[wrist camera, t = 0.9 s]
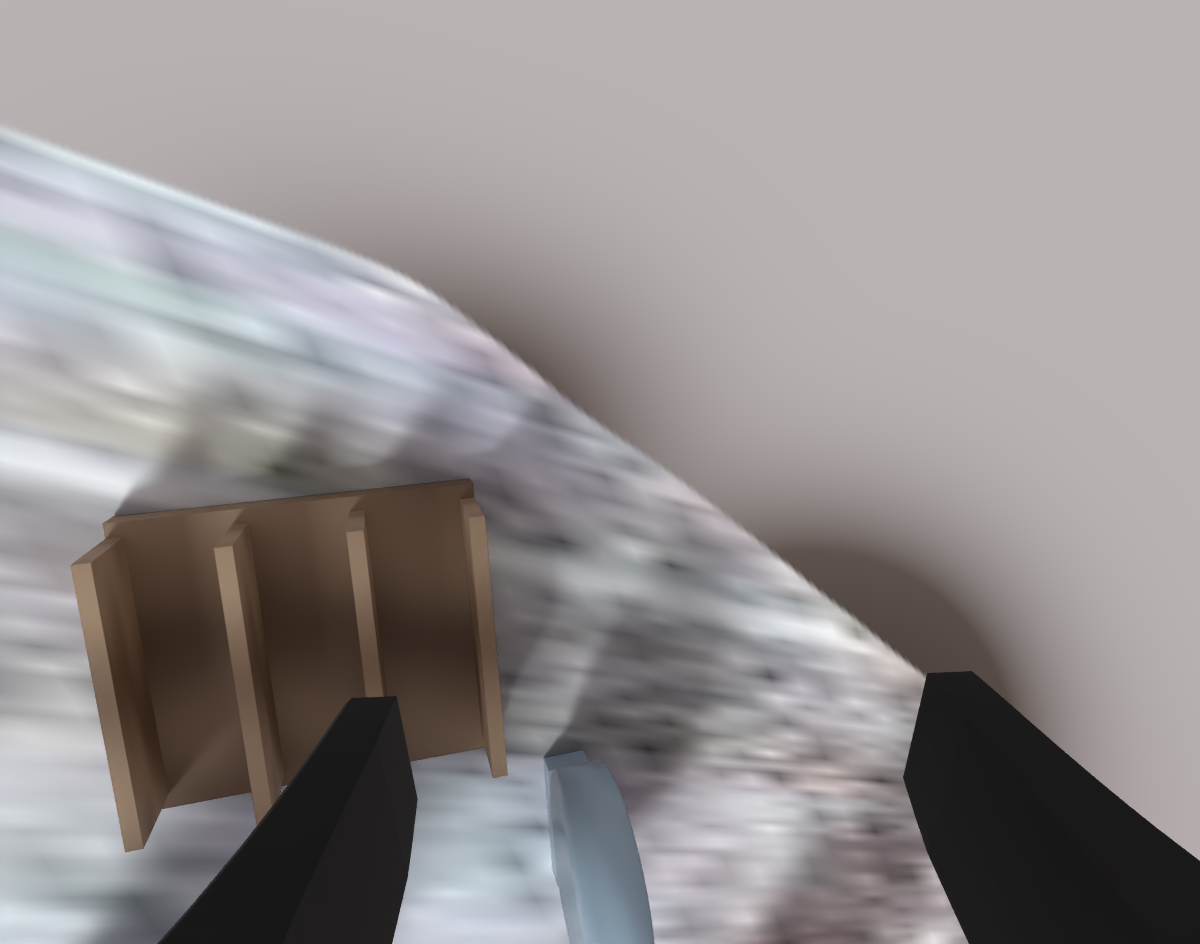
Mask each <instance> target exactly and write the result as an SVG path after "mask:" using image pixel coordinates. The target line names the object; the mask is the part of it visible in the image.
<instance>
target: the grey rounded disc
mask: <svg viewBox="0 0 1200 944" xmlns="http://www.w3.org/2000/svg"><path fill="white" fill-rule="evenodd" d="M544 768H545V780H546V793H547V806H548V819H549V831H550V844H551V857H552V869H553V873H554V876H555V879H556V882H557V885H558V886H559V890H560V896H561V901H562V907H563V912H564V917H565V922H566V927H567V932H568V937H569V941H570V944H654V935H653V927H652V920H651V912H650V907H649V901H648V895H647V890H646V885H645V880H644V875H643V870H642V866H641V861H640V857H639V853H638V849H637V845H636V841H635V837H634V834H633V830H632V827H631V823H630V820H629V817H628V814H627V811H626V808H625V805H624V802H623V799H622V796H621V794H620V791H619V789H618V787H617V784H616V782H615V780H614V778H613V776H612V774H611V772H610V771H609V769H608V767H607V766H606V765H605V764H604V763H603V762H602V761H601V760H594V761H589V762H588V759H587V757H586V755H585V753H584V751H583V750H580V751H575V752H570V753H565V754H560V755H555V756H550V757H545V758H544Z"/></svg>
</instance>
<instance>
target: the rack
mask: <svg viewBox="0 0 1200 944" xmlns="http://www.w3.org/2000/svg"><path fill="white" fill-rule="evenodd" d="M103 528H104V534H105V540H103V541H102V542H101V543H99V544H98V545H97V546H95V547H94V548H93V549H91V550H90V551H89V552H87V553H86V554H85V555H83V556H82V557H81V558H79V559H78V560H77V561H75V562H74V563H73V564H71V565H70V566H71V571H72V576H73V581H74V587H75V592H76V597H77V602H78V607H79V613H80V618H81V623H82V628H83V634H84V639H85V644H86V649H87V655H88V660H89V665H90V670H91V676H92V681H93V686H94V691H95V697H96V702H97V707H98V712H99V718H100V723H101V728H102V733H103V739H104V744H105V749H106V754H107V760H108V765H109V770H110V775H111V781H112V786H113V791H114V796H115V802H116V807H117V812H118V817H119V822H120V828H121V833H122V838H123V843H124V849H125V852H129V851H134V850H139V849H144V846H145V844H146V842H147V840H148V838H149V836H150V833H151V831H152V829H153V827H154V825H155V822H156V820H157V818H158V816H159V814H160V812H161V809H165V808H170V807H176V806H181V805H186V804H191V803H196V802H202V801H207V800H212V799H217V798H223V797H228V796H233V795H238V794H243V793H249V792H252V798H253V804H254V811H255V817H256V824H257V825H258V824H259V822H260V821H261V820H262V819H263V817H264V816H265V815H266V813H267V812H268V811H269V809H270V808H271V807H272V805H273V804H274V803H275V802H276V800H277V799H278V798H279V796H280V792H281V787H282V786H285V785H288V784H289V783H290V782H291V780H292V779H293V777H294V776H295V775H296V773H297V772H298V771H299V769H300V768H301V766H302V765H303V764H304V762H305V761H306V760H307V758H308V757H309V755H310V754H311V752H312V751H313V750H314V748H315V747H316V745H317V744H318V743H319V741H320V740H321V738H322V737H323V735H324V734H325V732H326V731H327V730H328V728H329V727H330V725H331V724H332V722H333V721H334V719H335V718H336V716H337V715H338V714H339V712H340V711H341V709H342V708H343V706H344V705H345V704H346V703H347V702H348V701H349V700H350V699H351V698H363V697H386V696H397V700H398V705H399V710H400V715H401V720H402V725H403V730H404V735H405V740H406V745H407V750H408V755H409V760H410V762H411V761H416V760H421V759H426V758H431V757H437V756H442V755H447V754H452V753H458V752H463V751H468V750H473V749H478V748H484V747H485V749H486V753H487V757H488V761H489V765H490V769H491V773H492V776H493V778H496V777H501V776H506V775H508V773H507V762H506V750H505V739H504V728H503V716H502V705H501V694H500V682H499V671H498V660H497V648H496V637H495V626H494V615H493V603H492V592H491V581H490V569H489V558H488V547H487V535H486V524H485V515H484V514H483V512H482V510H481V509H480V507H479V505H478V503H477V502H476V500H475V498H474V492H473V483H472V482H471V480H470V479H461V480H452V481H443V482H433V483H424V484H414V485H405V486H396V487H386V488H377V489H368V490H358V491H349V492H340V493H330V494H321V495H311V496H302V497H293V498H283V499H274V500H265V501H255V502H246V503H237V504H227V505H218V506H209V507H199V508H190V509H180V510H171V511H162V512H152V513H143V514H134V515H124V516H115V517H112V518H110V519H109V520H107V521H106V522H104V523H103Z"/></svg>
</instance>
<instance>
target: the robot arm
mask: <svg viewBox="0 0 1200 944" xmlns="http://www.w3.org/2000/svg"><path fill="white" fill-rule="evenodd" d="M903 778H904V782H905V785H906V788H907V791H908V794H909V798H910V801H911V804H912V807H913V811H914V814H915V817H916V820H917V823H918V826H919V829H920V832H921V835H922V838H923V841H924V844H925V847H926V850H927V852H928V855H929V857H930V859H931V861H932V864H933V866H934V868H935V871H936V873H937V875H938V877H939V879H940V882H941V884H942V886H943V888H944V890H945V893H946V895H947V897H948V899H949V901H950V904H951V906H952V908H953V910H954V912H955V915H956V917H957V919H958V921H959V923H960V925H961V928H962V930H963V932H964V934H965V936H966V938H967V940H968V943H969V944H1200V861H1199V860H1198V859H1197V858H1195V857H1194V856H1193V855H1191V854H1190V853H1189V852H1187V851H1186V850H1185V849H1183V848H1182V847H1181V846H1179V845H1178V844H1177V843H1175V842H1174V841H1173V840H1172V839H1170V838H1169V837H1168V836H1167V835H1165V834H1164V833H1163V832H1161V831H1160V830H1159V829H1157V828H1156V827H1155V826H1154V825H1152V824H1151V823H1150V822H1149V821H1147V820H1146V819H1145V818H1144V817H1142V816H1141V815H1140V814H1139V813H1137V812H1136V811H1135V810H1134V809H1132V808H1131V807H1130V806H1128V805H1127V804H1126V803H1125V802H1124V801H1123V800H1121V799H1120V798H1119V797H1118V796H1116V795H1115V794H1114V793H1113V792H1112V791H1110V790H1109V789H1108V788H1107V787H1105V786H1104V785H1103V784H1102V783H1101V782H1100V781H1098V780H1097V779H1096V778H1095V777H1094V776H1092V775H1091V774H1090V773H1089V772H1088V771H1086V770H1085V769H1084V768H1083V767H1082V766H1081V765H1079V764H1078V763H1077V762H1076V761H1075V760H1074V759H1072V758H1071V757H1070V756H1069V755H1068V754H1066V753H1065V752H1064V751H1063V750H1062V749H1061V748H1059V747H1058V746H1057V745H1056V744H1055V743H1054V742H1053V741H1051V740H1050V739H1049V738H1048V737H1047V736H1046V735H1045V734H1043V733H1042V732H1041V731H1040V730H1039V729H1038V728H1036V727H1035V726H1034V725H1033V724H1032V723H1031V722H1030V721H1029V720H1027V719H1026V718H1025V717H1024V716H1023V715H1022V714H1020V712H1018V711H1017V710H1016V709H1015V708H1014V707H1013V706H1012V705H1010V704H1009V703H1008V702H1007V701H1006V700H1005V699H1004V698H1002V697H1001V696H1000V695H999V694H998V693H997V692H995V691H994V690H993V689H992V688H991V687H990V686H989V685H987V684H986V683H985V682H983V680H981V679H980V678H979V677H978V676H977V675H976V674H974V673H973V672H972V671H967V672H944V673H927V677H926V681H925V685H924V690H923V694H922V698H921V703H920V707H919V711H918V716H917V720H916V724H915V729H914V733H913V737H912V742H911V746H910V750H909V755H908V759H907V763H906V768H905V772H904V776H903ZM416 808H417V795H416V790H415V785H414V780H413V775H412V770H411V765H410V760H409V755H408V750H407V745H406V740H405V735H404V730H403V725H402V720H401V715H400V710H399V705H398V700H397V696H386V697H363V698H351V699H350V700H349V701H348V702H347V703H346V704H345V705H344V706H343V708H342V709H341V711H340V712H339V714H338V715H337V716H336V718H335V719H334V721H333V722H332V724H331V725H330V727H329V728H328V730H327V731H326V732H325V734H324V735H323V737H322V738H321V740H320V741H319V743H318V744H317V745H316V747H315V748H314V750H313V751H312V752H311V754H310V755H309V757H308V758H307V760H306V761H305V762H304V764H303V765H302V766H301V768H300V769H299V771H298V772H297V773H296V775H295V776H294V777H293V779H292V780H291V782H290V783H289V784H288V786H287V787H286V788H285V790H284V791H283V792H282V794H281V795H280V796H279V798H278V799H277V800H276V802H275V803H274V804H273V805H272V807H271V808H270V809H269V811H268V812H267V813H266V815H265V816H264V817H263V819H262V820H261V821H260V822H259V824H258V825H257V826H256V828H255V829H254V830H253V832H252V833H251V834H250V836H249V837H248V838H247V839H246V841H245V842H244V843H243V844H242V846H241V847H240V848H239V849H238V851H237V852H236V853H235V854H234V855H233V857H232V858H231V859H230V860H229V861H228V863H227V864H226V865H225V866H224V867H223V869H222V870H221V871H220V872H219V873H218V875H217V876H216V877H215V878H214V879H213V881H212V882H211V883H210V884H209V885H208V887H207V888H206V889H205V890H204V891H203V893H202V894H201V895H200V896H199V897H198V899H197V900H196V901H195V902H194V903H193V905H192V906H191V907H190V908H189V909H188V910H187V911H186V913H185V914H184V915H183V916H182V917H181V918H180V919H179V921H178V922H177V923H176V924H175V925H174V926H173V927H172V928H171V929H170V931H169V932H168V933H167V934H166V935H165V936H164V937H163V938H162V939H161V941H160V942H159V943H158V944H392V942H393V937H394V933H395V929H396V925H397V920H398V916H399V912H400V908H401V904H402V899H403V895H404V891H405V886H406V882H407V877H408V871H409V863H410V856H411V849H412V841H413V833H414V824H415V816H416Z"/></svg>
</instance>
